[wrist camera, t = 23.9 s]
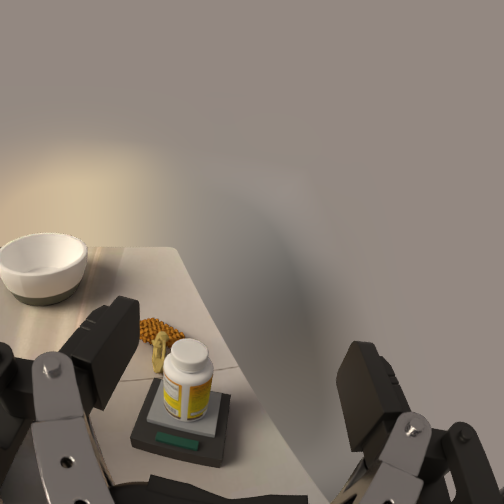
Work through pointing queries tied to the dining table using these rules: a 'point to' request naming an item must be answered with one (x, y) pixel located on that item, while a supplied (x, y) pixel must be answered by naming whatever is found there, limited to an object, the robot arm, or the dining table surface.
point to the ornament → (158, 339)
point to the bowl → (43, 267)
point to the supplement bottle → (187, 380)
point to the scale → (182, 429)
